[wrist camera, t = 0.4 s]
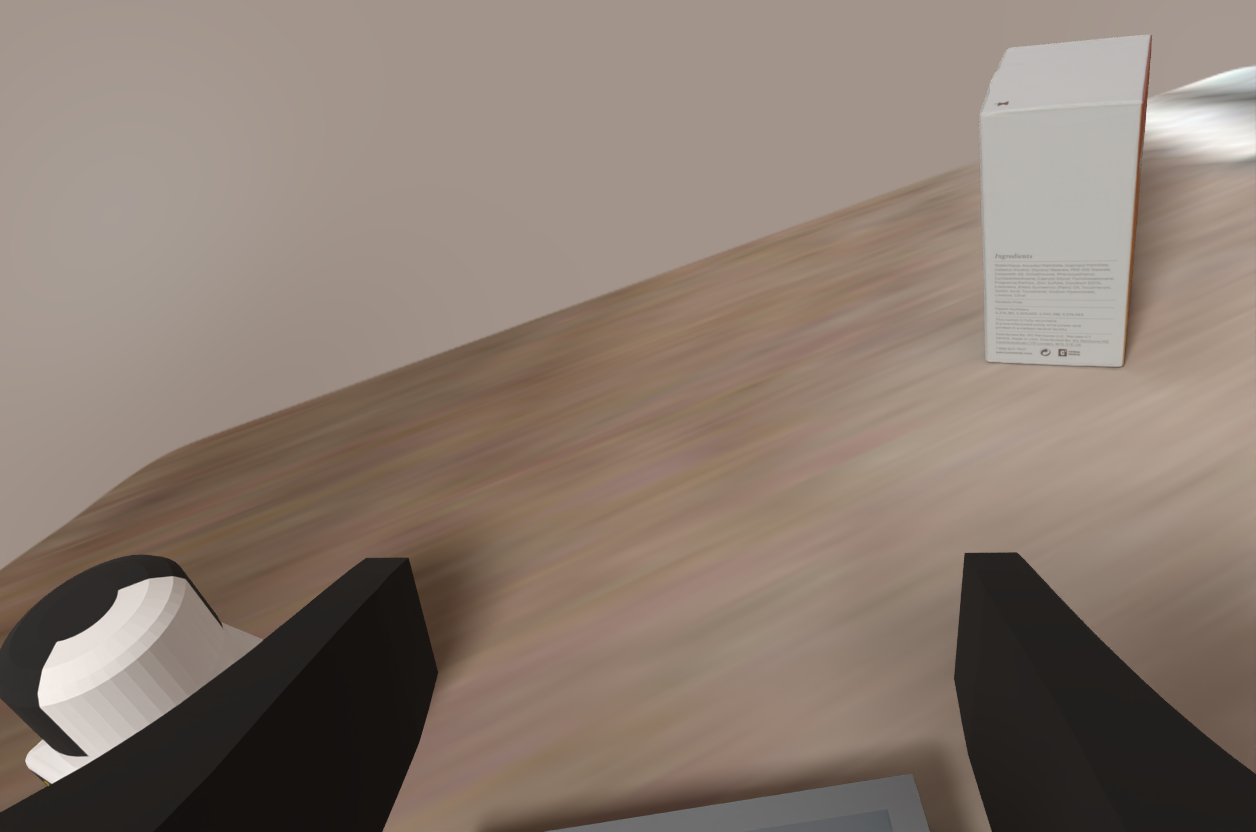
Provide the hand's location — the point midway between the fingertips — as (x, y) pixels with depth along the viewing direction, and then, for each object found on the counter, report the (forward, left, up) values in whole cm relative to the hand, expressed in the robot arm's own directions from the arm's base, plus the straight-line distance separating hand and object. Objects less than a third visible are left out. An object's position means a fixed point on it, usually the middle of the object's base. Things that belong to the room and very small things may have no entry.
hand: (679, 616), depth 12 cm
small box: (+33, -18, -20) cm, 43 cm away
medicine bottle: (+12, +20, -20) cm, 31 cm away
